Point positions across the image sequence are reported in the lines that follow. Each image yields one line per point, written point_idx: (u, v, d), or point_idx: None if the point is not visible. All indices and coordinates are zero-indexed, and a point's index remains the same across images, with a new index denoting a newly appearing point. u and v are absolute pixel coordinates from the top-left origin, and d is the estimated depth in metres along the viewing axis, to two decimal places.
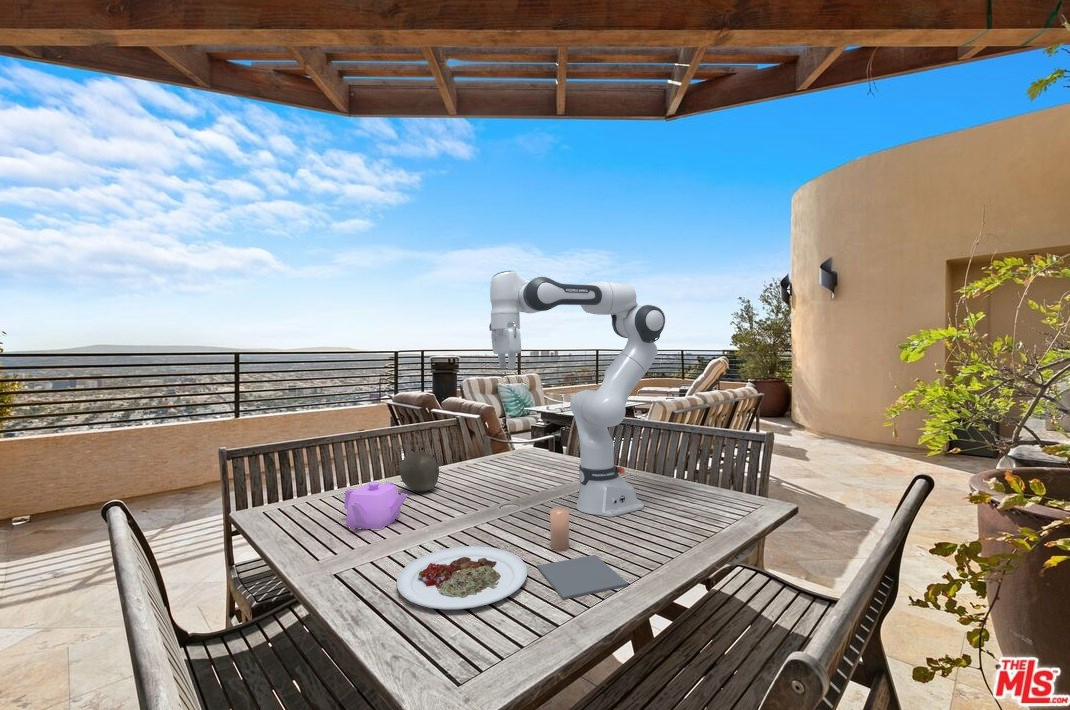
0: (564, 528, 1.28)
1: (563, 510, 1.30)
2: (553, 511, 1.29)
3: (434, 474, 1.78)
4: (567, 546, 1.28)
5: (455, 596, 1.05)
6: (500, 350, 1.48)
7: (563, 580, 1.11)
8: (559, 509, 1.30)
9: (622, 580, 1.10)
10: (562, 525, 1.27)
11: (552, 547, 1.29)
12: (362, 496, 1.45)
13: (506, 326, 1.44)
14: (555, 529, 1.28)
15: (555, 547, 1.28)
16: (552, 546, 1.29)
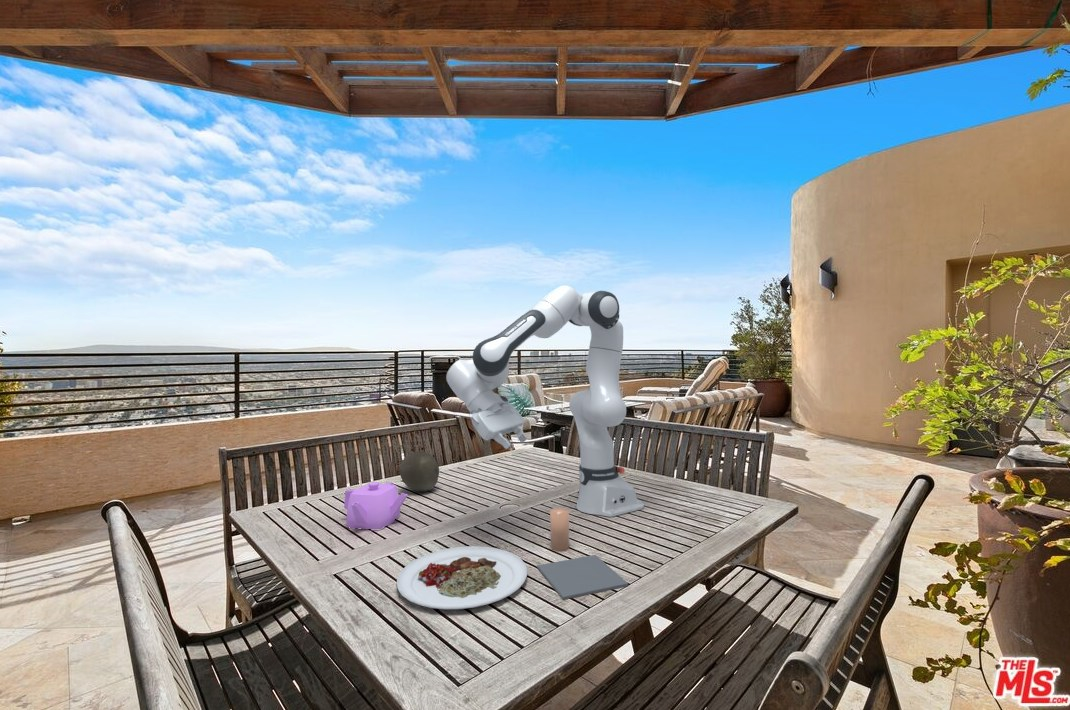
0: (564, 528, 1.28)
1: (563, 510, 1.30)
2: (553, 511, 1.29)
3: (434, 474, 1.78)
4: (567, 546, 1.28)
5: (455, 596, 1.05)
6: None
7: (563, 580, 1.11)
8: (559, 509, 1.30)
9: (622, 580, 1.10)
10: (562, 525, 1.27)
11: (552, 547, 1.29)
12: (362, 496, 1.45)
13: None
14: (555, 529, 1.28)
15: (555, 547, 1.28)
16: (552, 546, 1.29)
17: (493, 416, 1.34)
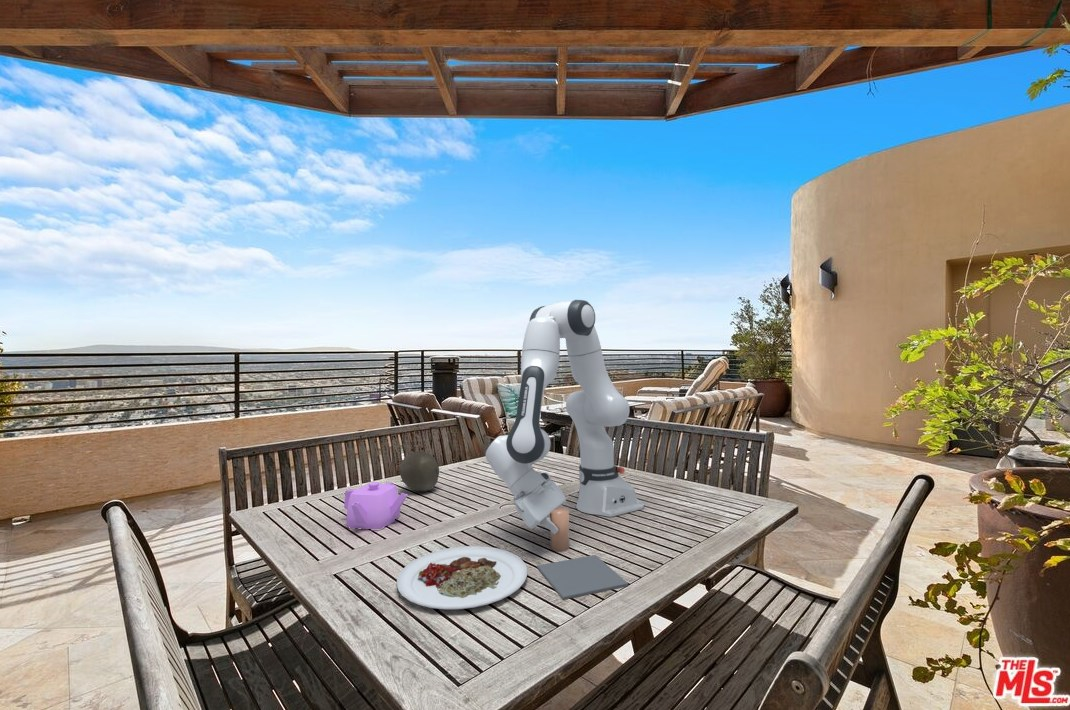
0: (564, 528, 1.28)
1: (563, 510, 1.30)
2: (553, 511, 1.29)
3: (434, 474, 1.78)
4: (567, 546, 1.28)
5: (455, 596, 1.05)
6: None
7: (563, 580, 1.11)
8: (559, 509, 1.30)
9: (622, 580, 1.10)
10: (562, 525, 1.27)
11: (552, 547, 1.29)
12: (362, 496, 1.45)
13: None
14: None
15: (555, 547, 1.28)
16: (552, 546, 1.29)
17: (537, 499, 1.29)
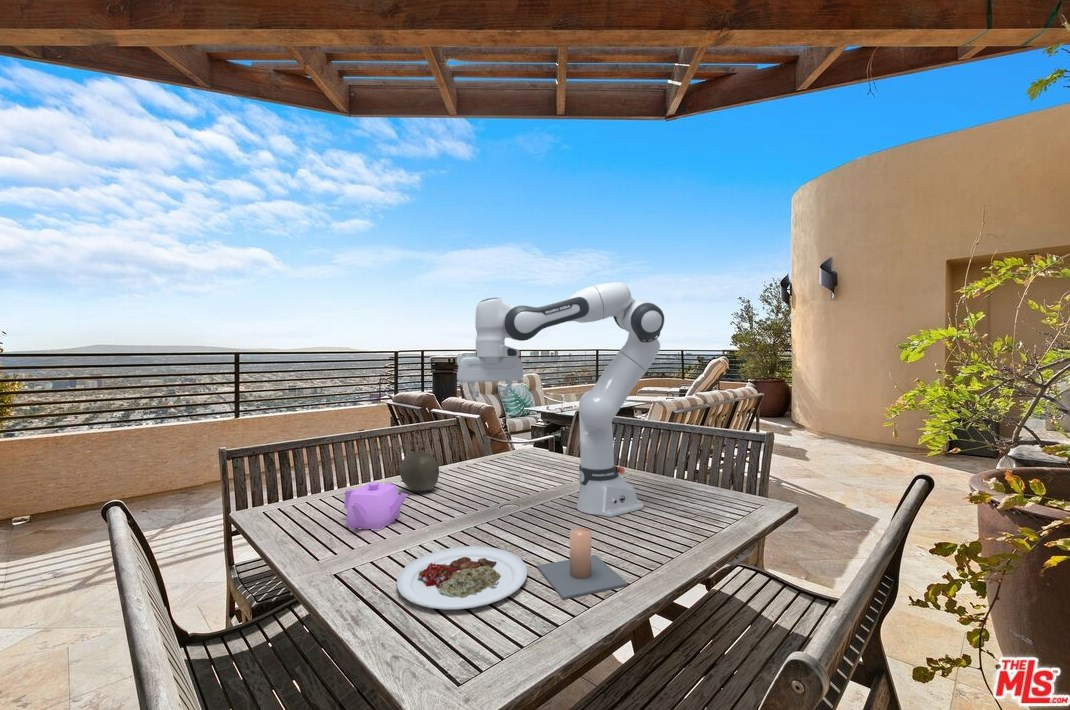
0: (587, 552, 1.11)
1: (585, 530, 1.14)
2: (574, 532, 1.13)
3: (434, 474, 1.78)
4: (589, 572, 1.12)
5: (455, 596, 1.05)
6: None
7: (563, 580, 1.11)
8: (581, 530, 1.14)
9: (622, 580, 1.10)
10: (584, 549, 1.11)
11: (572, 574, 1.12)
12: (362, 496, 1.45)
13: None
14: (576, 553, 1.11)
15: (575, 574, 1.11)
16: (572, 573, 1.12)
17: (481, 365, 1.45)
